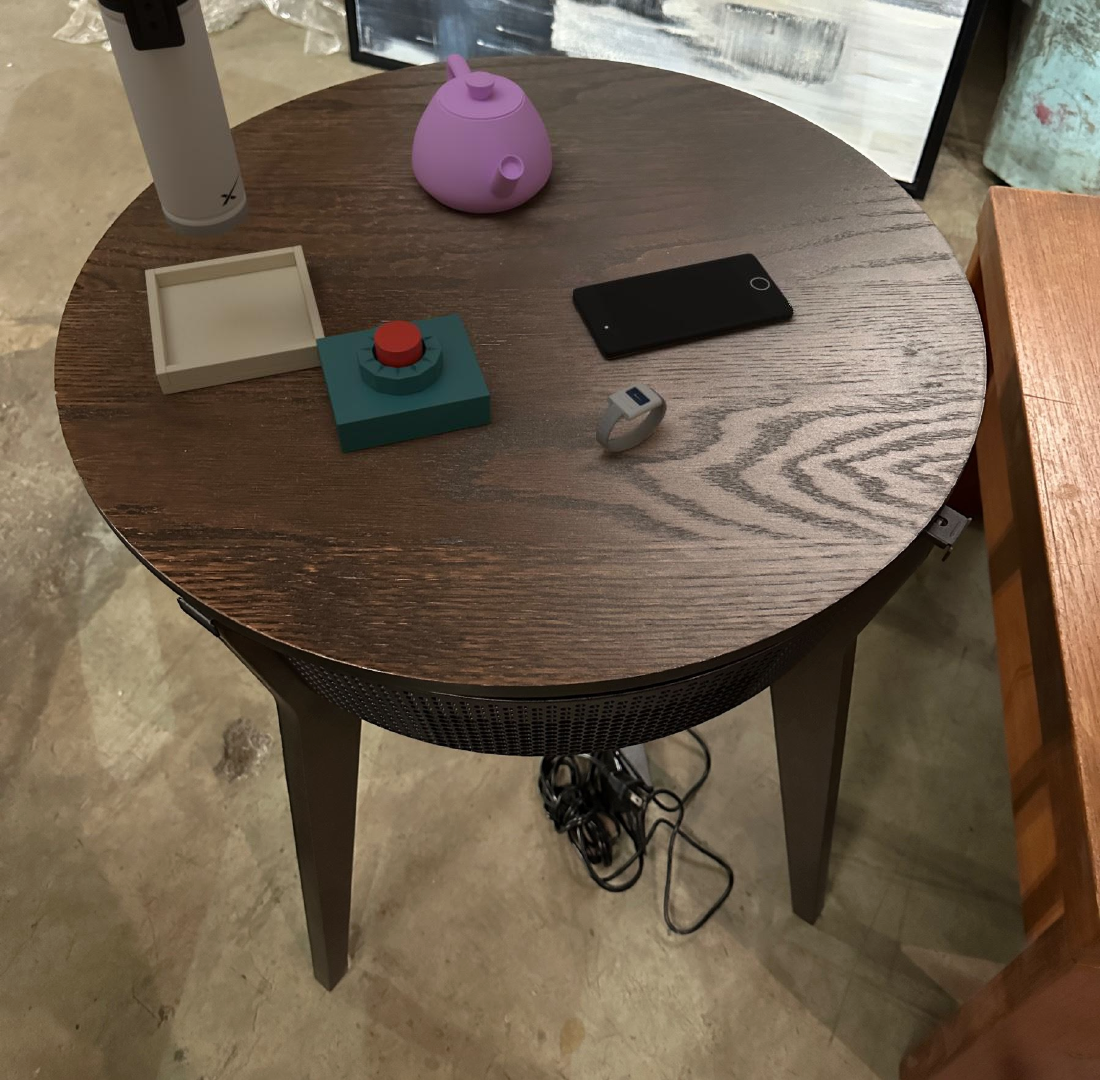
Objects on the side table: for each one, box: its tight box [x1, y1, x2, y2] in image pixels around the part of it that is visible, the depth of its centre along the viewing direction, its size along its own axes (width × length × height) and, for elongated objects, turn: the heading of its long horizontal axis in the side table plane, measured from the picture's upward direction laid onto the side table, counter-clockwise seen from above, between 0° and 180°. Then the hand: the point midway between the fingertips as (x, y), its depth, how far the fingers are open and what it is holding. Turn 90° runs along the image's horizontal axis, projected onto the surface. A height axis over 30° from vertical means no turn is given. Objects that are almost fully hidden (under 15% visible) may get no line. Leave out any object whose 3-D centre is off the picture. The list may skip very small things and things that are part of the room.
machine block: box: [316, 313, 492, 454], centre depth 82 cm, size 12×10×5 cm
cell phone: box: [572, 252, 795, 360], centre depth 91 cm, size 9×18×1 cm, turn 109°
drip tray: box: [144, 245, 326, 396], centre depth 88 cm, size 14×14×2 cm
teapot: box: [411, 53, 553, 214], centre depth 98 cm, size 14×20×11 cm
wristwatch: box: [595, 380, 668, 453], centre depth 80 cm, size 6×3×5 cm, turn 126°
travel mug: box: [96, 0, 250, 239], centre depth 72 cm, size 6×7×20 cm
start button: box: [374, 320, 423, 368], centre depth 80 cm, size 4×4×2 cm
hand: (155, 17), depth 68 cm, fingers closed on travel mug, 6 cm apart
